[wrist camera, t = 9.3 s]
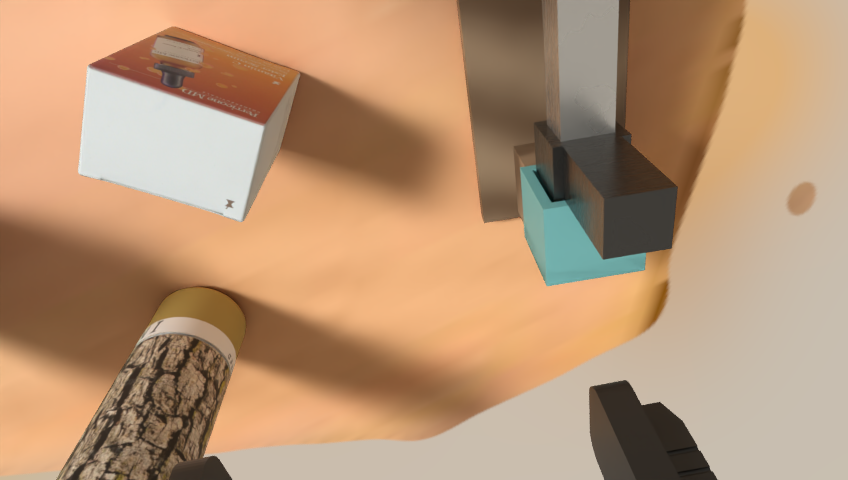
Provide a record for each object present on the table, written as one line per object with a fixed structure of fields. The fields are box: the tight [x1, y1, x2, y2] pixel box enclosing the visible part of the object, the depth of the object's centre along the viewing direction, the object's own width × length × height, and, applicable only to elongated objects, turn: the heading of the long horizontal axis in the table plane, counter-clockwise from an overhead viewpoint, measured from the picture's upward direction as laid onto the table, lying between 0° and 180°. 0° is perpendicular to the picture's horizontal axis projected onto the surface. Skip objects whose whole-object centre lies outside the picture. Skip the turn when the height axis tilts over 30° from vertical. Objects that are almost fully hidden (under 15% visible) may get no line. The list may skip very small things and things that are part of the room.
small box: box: [78, 27, 300, 222], centre depth 29 cm, size 8×6×10 cm
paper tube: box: [56, 287, 246, 480], centre depth 32 cm, size 7×7×25 cm
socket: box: [520, 165, 646, 286], centre depth 31 cm, size 5×6×6 cm
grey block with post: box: [534, 0, 678, 260], centre depth 24 cm, size 19×4×10 cm, turn 9°
